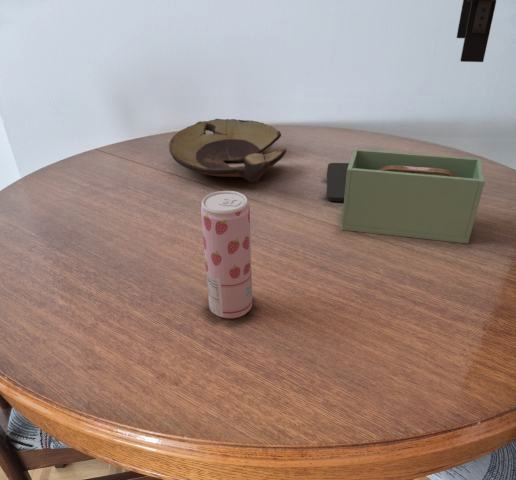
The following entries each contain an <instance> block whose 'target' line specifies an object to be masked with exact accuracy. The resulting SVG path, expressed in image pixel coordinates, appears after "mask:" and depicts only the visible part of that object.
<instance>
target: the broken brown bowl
mask: <svg viewBox="0 0 516 480" xmlns="http://www.w3.org/2000/svg"><path fill="white" fill-rule="evenodd" d="M206 131H209V132H212V133H206ZM281 137H282V133H281V131H279V130H277V128H276V127H273V126H272V125H268V124H265V123H264V122H260V121H257V120H247V119H246V120H244V119H236V118H231V119H230V118H229V119H228V118H226V119H223V118H215V119H211V120H204V121H198V122H196V123H195V124H192V125H189V126H187V127H185V128H183V129H181V130H179V131H178V132H177V133H175V135H173V136H172V138H171V139H170V141H169V144H168V150H169V153H170V155H171V157H172V158H173V160H174V161H175V162H176V163H177V164H179V165H180V166H182V167H183V168H186V169H188V170H190V171H193V172H197V173H201V174H204V175H208V176H214V177H225V178H239V177H240V178H242V179H244V180H246V181H247V182H250V183H253V182H257V181H259V180H260V179H261V177H262V176H263V175H264V173H265V172H266V171H267V170H268V169H269V168H270V167H272V166H274V165H276V163H278V162H279V161H281V160H282V159H283V157H284V156H285V155H286V153H287V148H281V149H276V150H275V151H272V152H268V153H266V154H264V152H265V151H266V150H268V149H269V148H270V147H271V146H272V145H274V144H275V143H276V142H277V141H278V140H279V139H281ZM226 162H234V163H235V162H236V163H239V162H243V164H244V165H242V166H232V167H231V166H230V165H229V164H227V163H226Z"/></svg>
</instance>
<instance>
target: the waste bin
mask: <svg viewBox="0 0 516 480" xmlns="http://www.w3.org/2000/svg"><path fill="white" fill-rule="evenodd" d="M351 153H352V154H351V156H350V160H349V162H348V163H349V165H348V168H347V176H346V186H345V197H344V202H343V208H342V219H341V230H342V231H350V232H359V233H366V234H367V233H368V234H377V235H386V236H395V237H404V238H413V239H422V240H431V241H441V242H449V243H457V244H458V243H459V244H467V245H468V244H469V243H470V239H471V235H472V231H473V227H474V224H475V220H476V216H477V212H478V210H479V209H478V208H479V205H480V202H481V197H482V195H483V191H484V187H485V183H486V180H485V179H486V178H485V173H484V166H483V159H482V158H478V157H477V158H476V157H466V156H465V157H464V156H451V155H440V154H439V155H438V154H427V153H414V152H403V151H401V152H400V151H388V150H376V149H365V148H364V149H363V148H362V149H361V148H353V150H352V152H351ZM389 165H399V166H412V167H426V168H441V169H446V170H449V171H451V172H453V173H454V174H455V175H456V176H457V177H450V176H438V175H427V174H415V173H404V172H392V171H380V170H378V169H380V168H382V167H385V166H389Z"/></svg>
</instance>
